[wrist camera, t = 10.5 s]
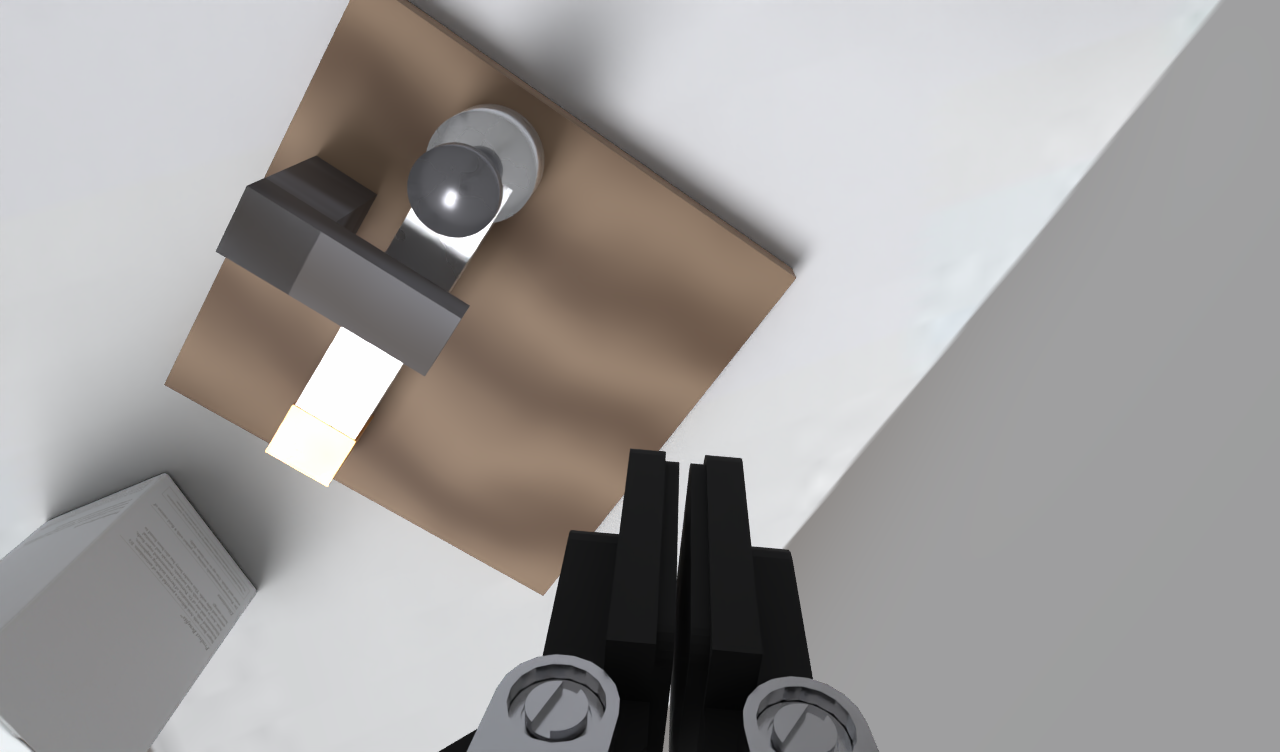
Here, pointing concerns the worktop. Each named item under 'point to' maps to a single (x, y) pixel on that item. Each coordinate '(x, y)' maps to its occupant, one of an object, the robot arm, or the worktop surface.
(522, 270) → the board
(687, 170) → the worktop surface
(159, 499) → the supplement box
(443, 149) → the link
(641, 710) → the robot arm
